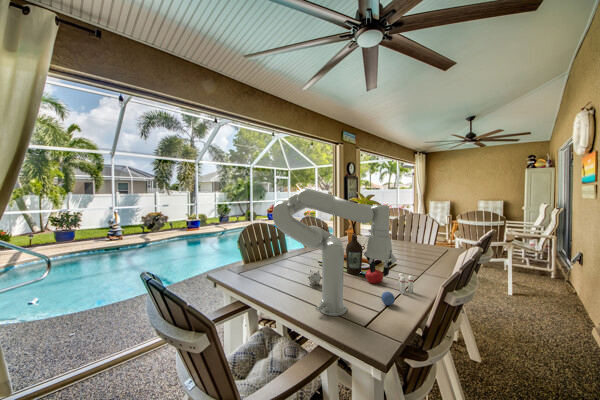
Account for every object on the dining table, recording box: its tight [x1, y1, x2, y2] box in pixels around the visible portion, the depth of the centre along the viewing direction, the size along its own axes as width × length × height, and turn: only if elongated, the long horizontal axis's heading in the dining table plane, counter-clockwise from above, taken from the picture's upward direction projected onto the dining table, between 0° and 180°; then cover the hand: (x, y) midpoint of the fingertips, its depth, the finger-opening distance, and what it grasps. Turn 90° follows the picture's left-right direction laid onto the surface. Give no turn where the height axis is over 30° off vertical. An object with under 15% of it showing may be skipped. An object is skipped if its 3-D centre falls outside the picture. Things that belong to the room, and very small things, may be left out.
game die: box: [307, 269, 322, 286], centre depth 136 cm, size 9×8×10 cm
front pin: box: [399, 276, 406, 295], centre depth 124 cm, size 2×2×8 cm
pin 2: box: [407, 275, 414, 294], centre depth 126 cm, size 2×2×8 cm
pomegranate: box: [365, 268, 384, 284], centre depth 140 cm, size 10×10×9 cm
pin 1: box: [398, 272, 405, 291], centre depth 129 cm, size 2×2×8 cm
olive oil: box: [345, 233, 363, 276], centre depth 155 cm, size 11×11×25 cm
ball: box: [380, 291, 396, 306], centre depth 112 cm, size 6×6×6 cm
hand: (379, 273), depth 105 cm, fingers open, 5 cm apart
